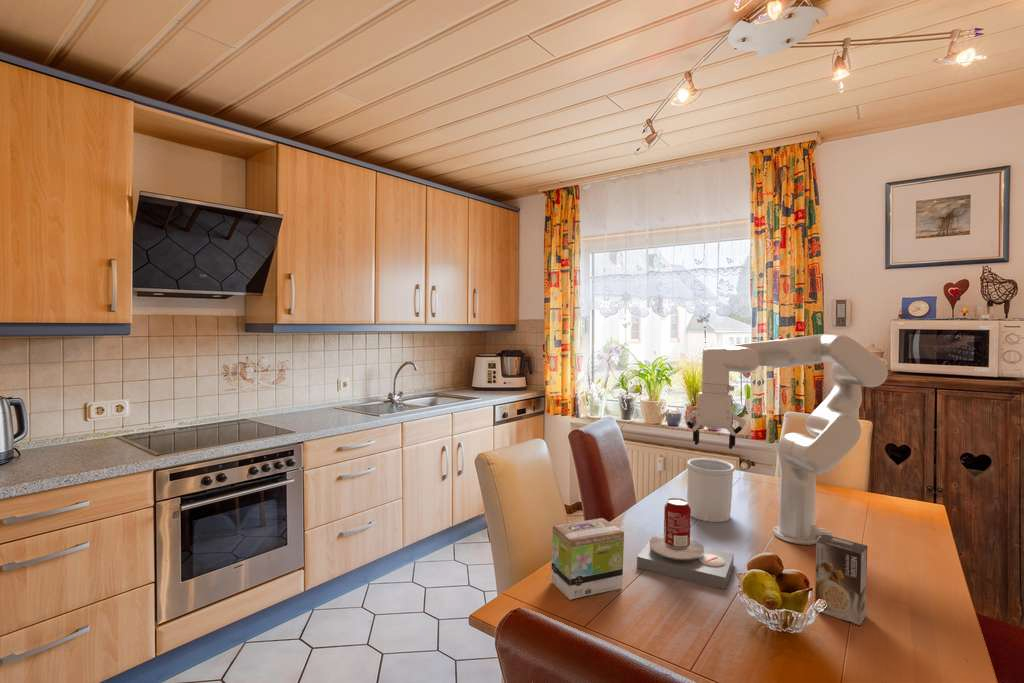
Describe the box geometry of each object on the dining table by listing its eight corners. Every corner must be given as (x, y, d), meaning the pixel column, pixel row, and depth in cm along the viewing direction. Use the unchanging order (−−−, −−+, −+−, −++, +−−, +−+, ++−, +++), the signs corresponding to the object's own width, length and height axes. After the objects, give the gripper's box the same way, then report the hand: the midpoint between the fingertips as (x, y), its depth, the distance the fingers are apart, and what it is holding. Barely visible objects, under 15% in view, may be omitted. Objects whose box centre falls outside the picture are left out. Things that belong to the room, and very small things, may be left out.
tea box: (570, 602, 123) (571, 540, 122) (550, 582, 132) (551, 524, 132) (623, 589, 129) (625, 530, 128) (601, 571, 138) (602, 515, 138)
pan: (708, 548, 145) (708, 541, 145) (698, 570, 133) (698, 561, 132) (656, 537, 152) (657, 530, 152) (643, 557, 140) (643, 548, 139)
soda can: (691, 551, 138) (692, 506, 138) (664, 549, 139) (665, 504, 139) (688, 540, 145) (689, 497, 144) (662, 538, 146) (663, 496, 146)
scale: (733, 564, 142) (733, 551, 142) (725, 589, 129) (725, 575, 129) (652, 546, 153) (652, 534, 153) (636, 567, 140) (637, 554, 140)
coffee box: (867, 615, 118) (870, 545, 117) (860, 627, 114) (862, 554, 113) (821, 599, 125) (823, 533, 124) (813, 610, 120) (815, 541, 120)
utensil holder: (741, 517, 176) (743, 465, 175) (714, 527, 168) (716, 472, 167) (703, 504, 188) (705, 455, 187) (676, 512, 180) (677, 461, 179)
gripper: (748, 389, 155) (746, 447, 156) (687, 385, 164) (686, 439, 165) (745, 392, 149) (743, 452, 150) (682, 388, 157) (681, 444, 158)
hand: (713, 445), depth 157 cm, fingers open, 9 cm apart
